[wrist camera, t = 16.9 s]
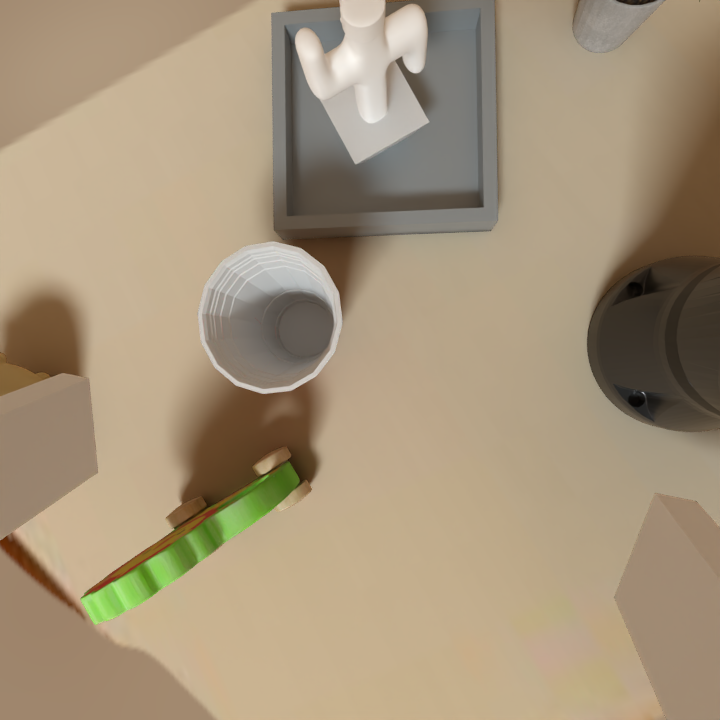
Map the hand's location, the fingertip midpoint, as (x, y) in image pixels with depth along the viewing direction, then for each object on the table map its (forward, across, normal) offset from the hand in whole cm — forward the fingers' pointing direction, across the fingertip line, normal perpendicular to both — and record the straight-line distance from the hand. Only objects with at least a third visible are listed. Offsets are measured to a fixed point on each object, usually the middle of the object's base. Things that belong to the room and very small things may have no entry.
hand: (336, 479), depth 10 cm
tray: (+37, -7, +14) cm, 40 cm away
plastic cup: (+31, -11, -6) cm, 33 cm away
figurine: (+37, -7, +13) cm, 40 cm away
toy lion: (+25, -15, -22) cm, 37 cm away
